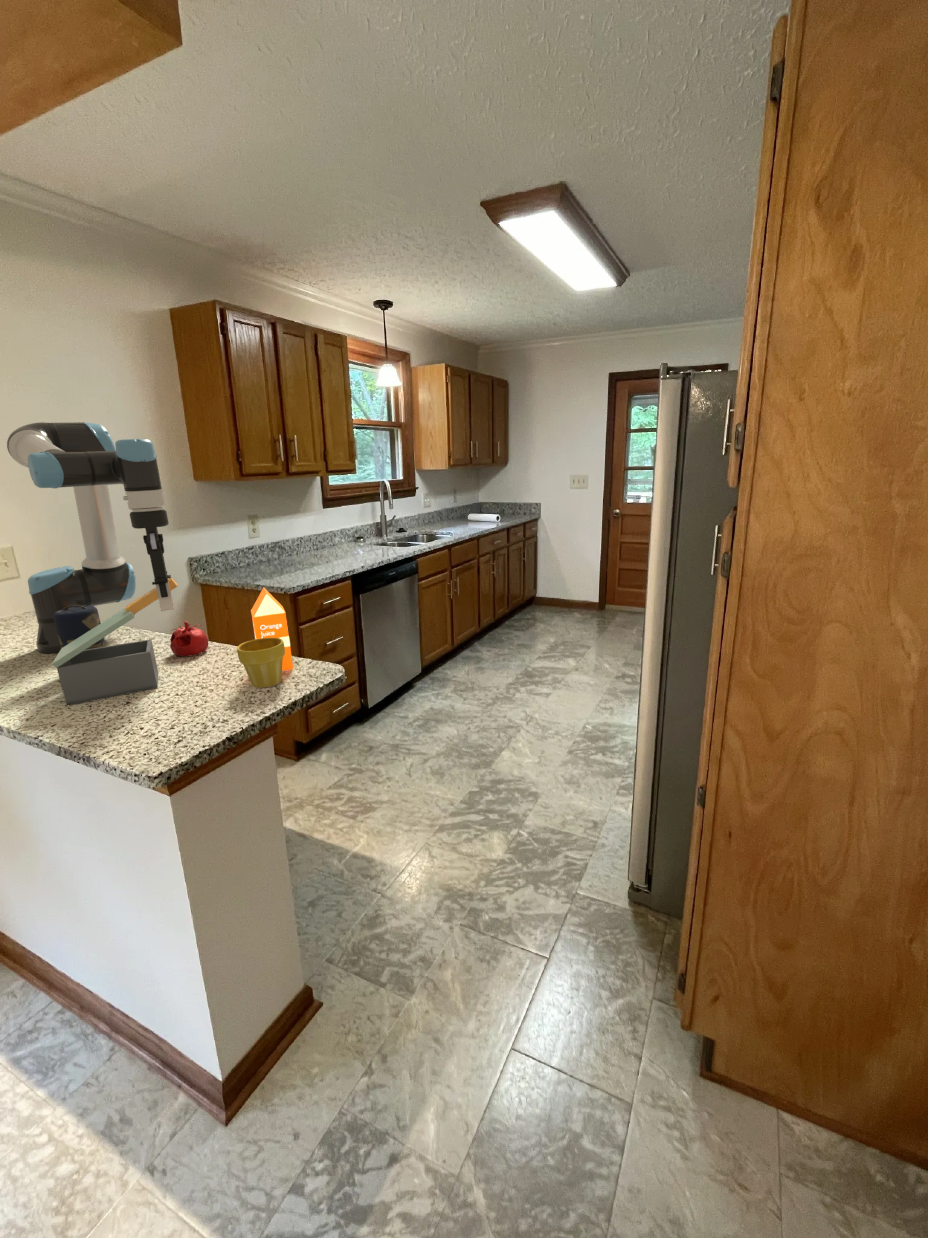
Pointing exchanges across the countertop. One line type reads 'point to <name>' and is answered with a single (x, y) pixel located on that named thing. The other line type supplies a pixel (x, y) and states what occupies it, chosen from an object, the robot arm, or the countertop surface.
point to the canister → (76, 624)
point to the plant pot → (263, 660)
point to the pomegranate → (188, 641)
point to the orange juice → (271, 623)
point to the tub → (109, 672)
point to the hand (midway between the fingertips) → (167, 607)
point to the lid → (107, 626)
